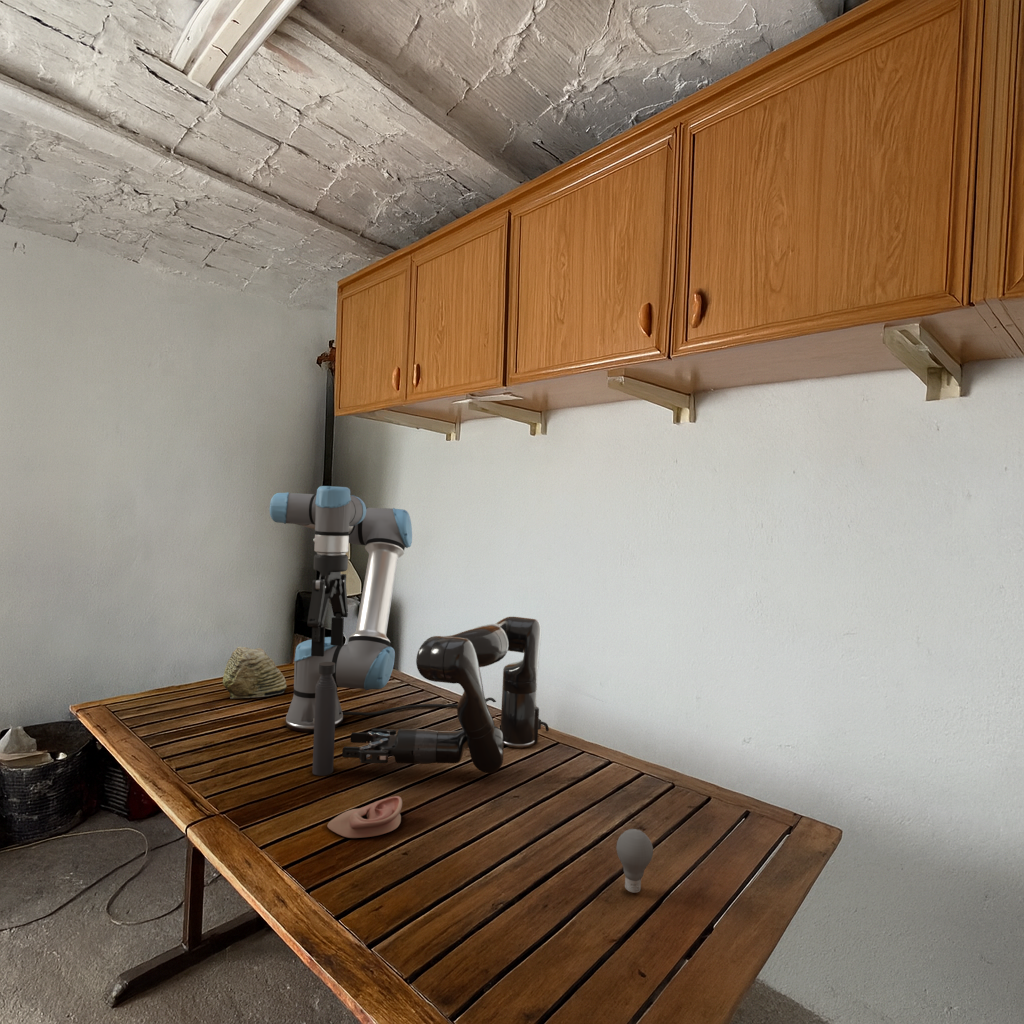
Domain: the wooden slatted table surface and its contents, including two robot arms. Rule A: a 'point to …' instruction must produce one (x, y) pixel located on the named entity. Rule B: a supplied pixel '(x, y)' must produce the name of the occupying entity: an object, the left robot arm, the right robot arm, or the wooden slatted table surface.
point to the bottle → (324, 726)
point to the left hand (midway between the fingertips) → (327, 650)
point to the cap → (326, 668)
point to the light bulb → (634, 857)
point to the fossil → (252, 674)
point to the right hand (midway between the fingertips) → (346, 744)
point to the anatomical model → (369, 819)
